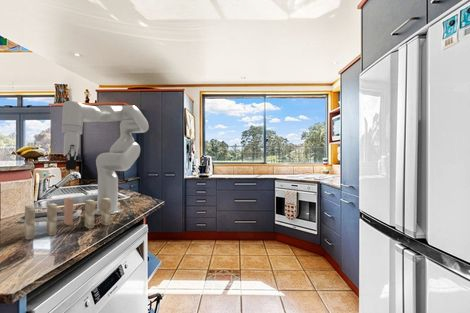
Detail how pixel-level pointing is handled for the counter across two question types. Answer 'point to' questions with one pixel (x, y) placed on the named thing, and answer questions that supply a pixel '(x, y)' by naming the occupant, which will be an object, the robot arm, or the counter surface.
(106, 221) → the birch domino
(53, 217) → the birch domino
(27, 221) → the birch domino
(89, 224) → the birch domino
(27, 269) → the counter surface
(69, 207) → the terracotta domino
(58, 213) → the picture frame
